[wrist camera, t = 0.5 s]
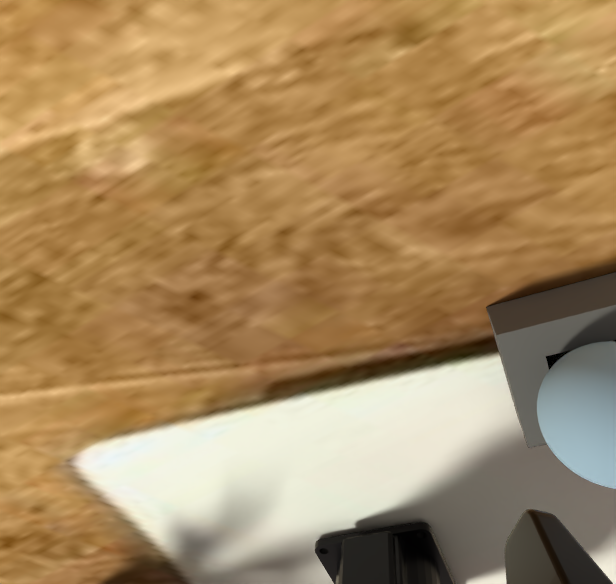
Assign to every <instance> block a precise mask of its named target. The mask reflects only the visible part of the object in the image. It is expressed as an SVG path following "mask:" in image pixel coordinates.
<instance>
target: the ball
mask: <svg viewBox="0 0 616 584" xmlns="http://www.w3.org/2000/svg"><path fill="white" fill-rule="evenodd" d="M537 416H538V422H539V426H540V429H541V432H542V435H543V437H544V439H545V441H546V443H547V444H548V446H549V448H550V449H551V450H552V452H553V453H554V454H555V456H556V457H557V458H558V459H559V460H560V461H561V462H562V463H563V464H564V465H565V466H566V467H568V468H569V469H570V470H571V471H573V472H574V473H576V474H577V475H579V476H580V477H582V478H584V479H586V480H588V481H590V482H593V483H595V484H598V485H601V486H605V487H609V488H613V489H616V341H604V342H596V343H591V344H588V345H584V346H581V347H579V348H576V349H574V350H572V351H570V352H569V353H567V354H566V355H564V356H563V357H561V358H560V359H559V360H558V361H557V362H556V363H555V364H554V365H553V366H552V367H551V368H550V370H549V371H548V372H547V374H546V376H545V377H544V379H543V381H542V384H541V387H540V389H539V393H538V399H537Z"/></svg>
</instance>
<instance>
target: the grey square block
mask: <svg viewBox="0 0 616 584" xmlns="http://www.w3.org/2000/svg"><path fill="white" fill-rule="evenodd" d="M486 308H487V312H488V315H489V319H490V322H491V326H492V329H493V333H494V336H495V340H496V343H497V347H498V350H499V354H500V357H501V360H502V364H503V367H504V371H505V374H506V378H507V381H508V385H509V388H510V392H511V395H512V399H513V402H514V406H515V409H516V413H517V416H518V419H519V422H520V425H521V428H522V431H523V434H524V437H525V440H526V442H527V445H528V448H530V447H535V446H541V445H546V444H547V443H546V441H545V439H544V437H543V435H542V432H541V429H540V426H539V422H538V416H537V399H538V393H539V389H540V387H541V384H542V381H543V379H544V377H545V376H546V374H547V372H548V371H549V367H548V363H547V359H546V356H549V355H554V354H558V353H562V352H566V351H570V350H574V349H576V348H579V347H581V346H584V345H588V344H591V343H596V342H604V341H612V340H616V272H614V273H611V274H607V275H603V276H599V277H596V278H592V279H588V280H585V281H581V282H577V283H574V284H570V285H566V286H562V287H559V288H555V289H551V290H548V291H544V292H540V293H537V294H533V295H529V296H525V297H522V298H518V299H514V300H511V301H507V302H503V303H500V304H496V305H492V306H488V307H486Z"/></svg>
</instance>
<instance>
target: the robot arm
mask: <svg viewBox="0 0 616 584" xmlns="http://www.w3.org/2000/svg"><path fill="white" fill-rule="evenodd" d="M315 553H316V554H317V556H318V558H319V559H320V561H321V563H322V564H323V566H324V568H325V569H326V571H327V573H328V574H329V576H330V578H331V579H332V581H333V582H334V584H455V582H454V580H453V577H452V575H451V573H450V571H449V568H448V566H447V564H446V561H445V559H444V557H443V555H442V552H441V550H440V548H439V545H438V543H437V541H436V539H435V536H434V534H433V532H432V529H431V527H430V526H429V525H428V524H426V523H413V524H408V525H402V526H396V527H390V528H384V529H378V530H372V531H366V532H360V533H354V534H349V535H343V536H337V537H331V538H325V539H320V540H318V541H317V542H316V544H315ZM505 567H506V580H507V584H613V583H612V582H611V581H610V579H609V578H608V577H607V576H606V575H605V573H604V572H603V571H602V570H601V569H600V568H599V566H598V565H597V564H596V563H595V562H594V561H593V559H592V558H591V557H590V556H589V555H588V553H587V552H586V551H585V550H584V549H583V548H582V546H581V545H580V544H579V543H578V542H577V540H576V539H575V538H574V537H573V536H572V535H571V533H570V532H569V531H568V530H567V529H566V528H565V526H564V525H563V524H562V523H561V522H560V520H559V519H558V518H557V517H556V516H554V515H553V514H551V513H547V512H542V511H538V510H533V509H528V510H526V511H524V513H523V514H522V516H521V517H520V519H519V521H518V522H517V524H516V526H515V527H514V529H513V531H512V532H511V534H510V536H509V537H508V539H507V542H506V546H505Z"/></svg>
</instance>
